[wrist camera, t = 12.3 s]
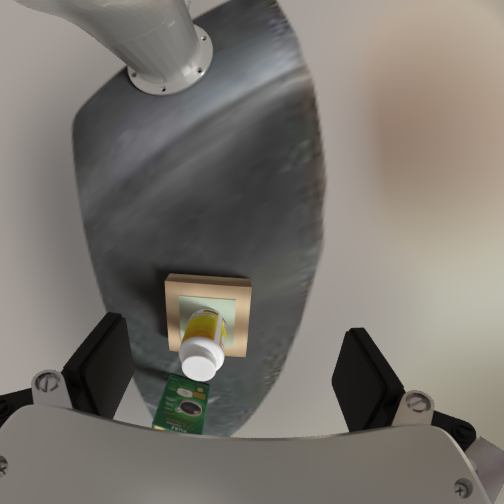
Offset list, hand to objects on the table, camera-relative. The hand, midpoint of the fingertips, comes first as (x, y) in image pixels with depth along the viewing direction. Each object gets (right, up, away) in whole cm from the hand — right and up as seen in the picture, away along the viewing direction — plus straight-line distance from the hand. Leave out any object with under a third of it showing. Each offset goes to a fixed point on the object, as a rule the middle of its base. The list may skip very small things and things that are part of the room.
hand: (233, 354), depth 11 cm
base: (-6, -5, +31) cm, 32 cm away
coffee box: (-11, -20, +35) cm, 42 cm away
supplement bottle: (-6, -6, +28) cm, 29 cm away
